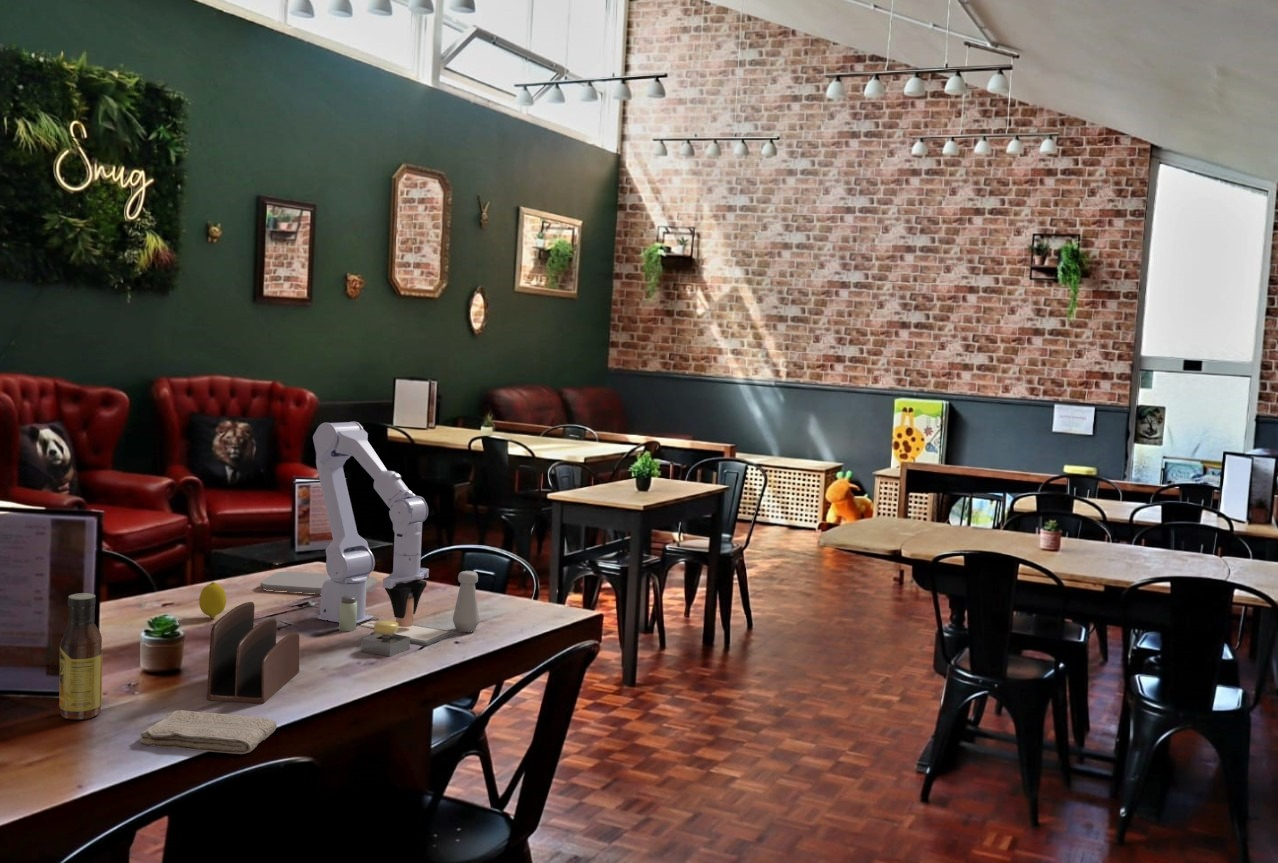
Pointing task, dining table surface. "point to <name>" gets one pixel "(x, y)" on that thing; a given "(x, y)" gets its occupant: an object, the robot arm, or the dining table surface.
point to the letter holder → (249, 658)
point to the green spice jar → (348, 613)
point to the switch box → (385, 644)
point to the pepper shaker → (407, 613)
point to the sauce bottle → (80, 661)
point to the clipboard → (423, 634)
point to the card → (369, 624)
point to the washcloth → (208, 732)
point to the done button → (386, 628)
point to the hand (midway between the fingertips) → (404, 615)
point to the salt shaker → (466, 603)
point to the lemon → (212, 600)
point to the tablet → (302, 582)
